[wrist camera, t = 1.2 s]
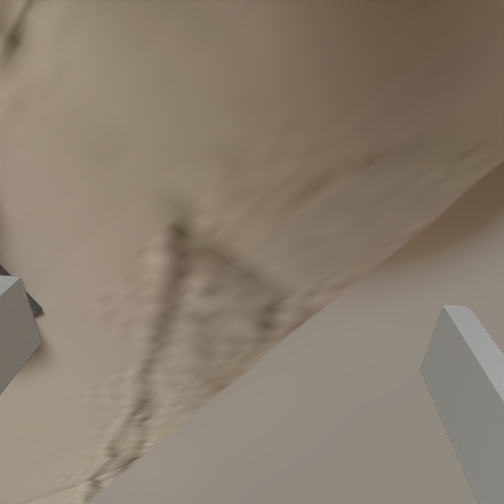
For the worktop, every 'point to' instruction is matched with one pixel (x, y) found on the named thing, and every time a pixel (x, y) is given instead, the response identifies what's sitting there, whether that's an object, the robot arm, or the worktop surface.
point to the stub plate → (33, 304)
